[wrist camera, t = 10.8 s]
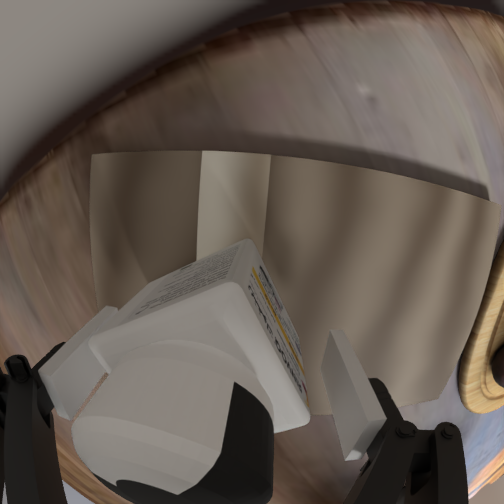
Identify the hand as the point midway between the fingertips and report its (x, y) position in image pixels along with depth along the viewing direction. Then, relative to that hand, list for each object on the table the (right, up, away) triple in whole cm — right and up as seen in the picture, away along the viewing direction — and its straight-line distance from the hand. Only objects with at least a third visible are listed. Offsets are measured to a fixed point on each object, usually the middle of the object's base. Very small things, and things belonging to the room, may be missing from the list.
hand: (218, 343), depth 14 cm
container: (0, +1, +4) cm, 4 cm away
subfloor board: (+6, +1, +5) cm, 8 cm away
